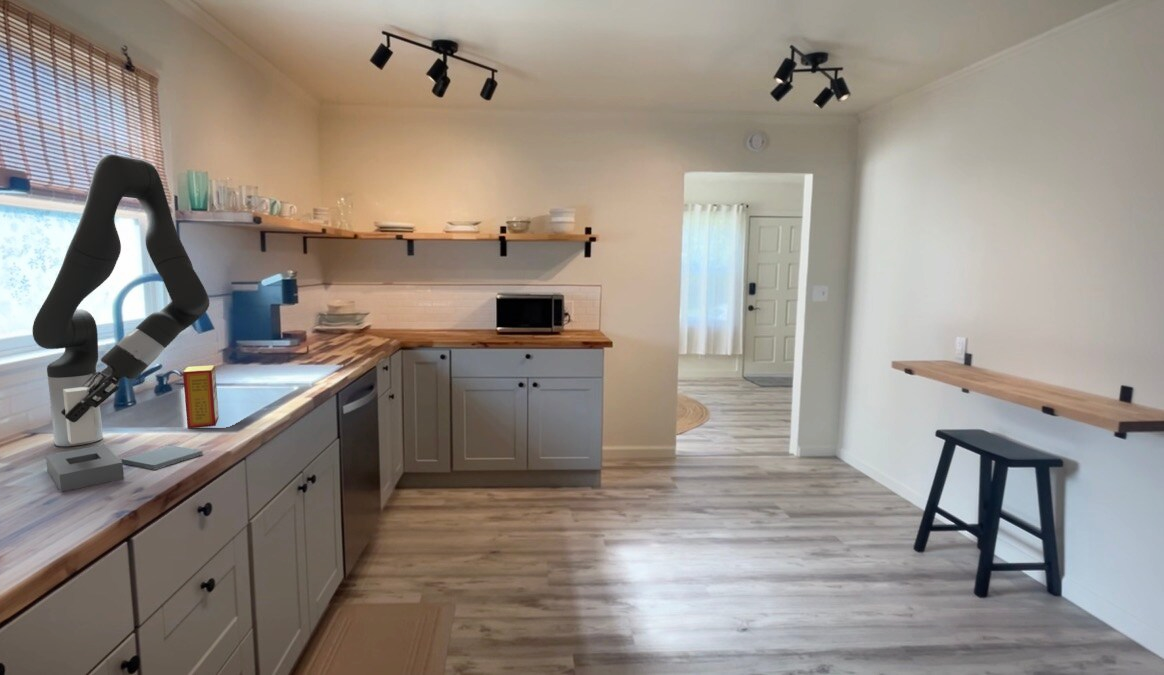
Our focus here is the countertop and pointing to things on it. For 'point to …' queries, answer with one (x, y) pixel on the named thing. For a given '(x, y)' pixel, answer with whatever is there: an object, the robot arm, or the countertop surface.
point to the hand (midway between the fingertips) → (67, 417)
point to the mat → (161, 457)
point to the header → (84, 467)
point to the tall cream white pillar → (85, 425)
